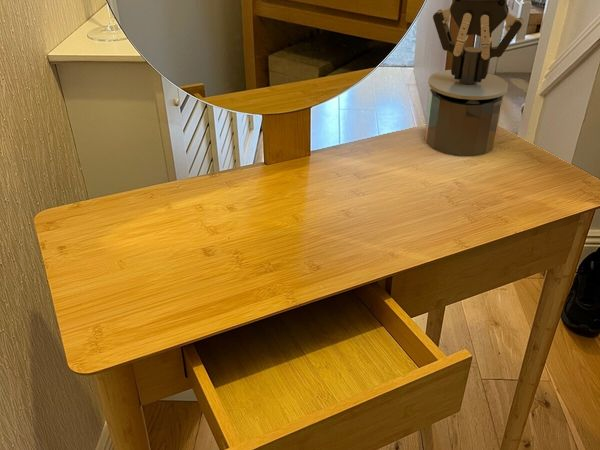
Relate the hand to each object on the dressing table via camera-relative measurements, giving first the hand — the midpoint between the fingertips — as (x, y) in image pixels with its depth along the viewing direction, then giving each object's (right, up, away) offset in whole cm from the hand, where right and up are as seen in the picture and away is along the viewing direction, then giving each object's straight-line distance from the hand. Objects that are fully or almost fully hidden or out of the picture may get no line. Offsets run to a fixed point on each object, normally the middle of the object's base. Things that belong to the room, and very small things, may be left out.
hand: (468, 78), depth 99 cm
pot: (0, -11, +7) cm, 13 cm away
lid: (0, -1, +1) cm, 1 cm away
